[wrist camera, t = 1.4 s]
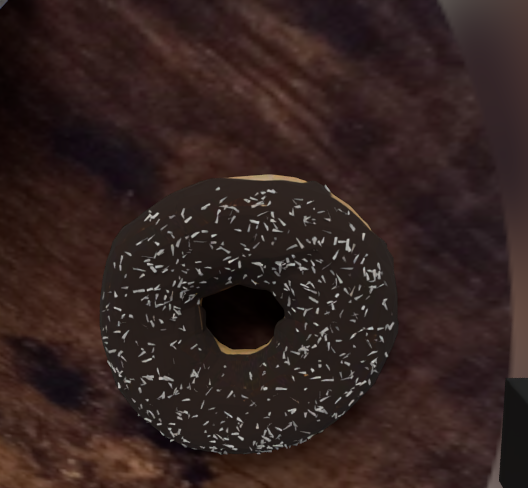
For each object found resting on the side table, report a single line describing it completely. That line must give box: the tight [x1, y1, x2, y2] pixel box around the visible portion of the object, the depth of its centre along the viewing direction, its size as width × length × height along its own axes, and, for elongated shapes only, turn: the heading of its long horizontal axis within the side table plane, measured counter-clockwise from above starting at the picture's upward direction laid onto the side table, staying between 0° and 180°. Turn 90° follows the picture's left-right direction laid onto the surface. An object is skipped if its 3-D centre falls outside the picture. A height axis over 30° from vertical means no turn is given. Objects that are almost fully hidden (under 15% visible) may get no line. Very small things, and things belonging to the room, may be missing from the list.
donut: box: [100, 174, 399, 455], centre depth 19 cm, size 11×12×4 cm
